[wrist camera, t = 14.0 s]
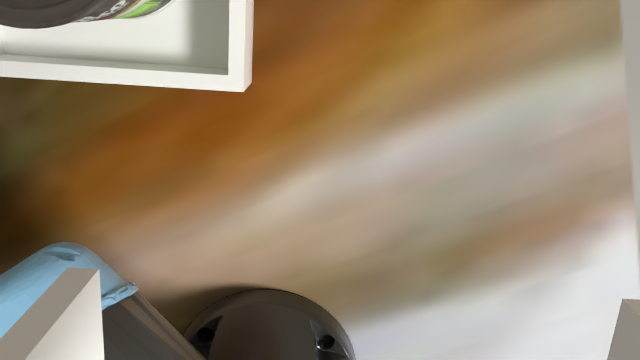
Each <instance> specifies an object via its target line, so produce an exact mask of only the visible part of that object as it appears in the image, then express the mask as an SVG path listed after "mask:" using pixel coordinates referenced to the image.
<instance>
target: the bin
mask: <svg viewBox="0 0 640 360" xmlns="http://www.w3.org/2000/svg"><path fill="white" fill-rule="evenodd" d="M253 8H254V0H175V1H174V2H173V3H172V4H171V5H169V6H168V7H167V8H165V9H164V10H162V11H160V12H158V13H156V14H154V15H151V16H148V17H144V18H139V19H110V20H99V21H90V22H75V23H68V24H65V25H61V26H57V27H51V28H42V29H21V28H13V27H8V26H3V25H0V76H2V77H17V78H33V79H49V80H64V81H80V82H95V83H111V84H126V85H142V86H157V87H173V88H188V89H204V90H219V91H235V92H244V91H245V90H246V88H247V87H248V86H249V85H250V84H251V78H252V43H253Z"/></svg>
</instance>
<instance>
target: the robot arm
mask: <svg viewBox="0 0 640 360" xmlns="http://www.w3.org/2000/svg"><path fill="white" fill-rule="evenodd" d="M138 289H139V288H138V286H137V285H136V284H135V283H134V282H127V281H126V280H125V279H123V278H122V277H121V276H120V275H119V274H118V273H117V272H116V271H114V270H113V269H112V268H111V267H110V266H109V265H108V264H106V263H105V262H104V261H103V260H102V259H101V258H100V257H99V256H97V255H96V254H95V253H94V252H93V251H92V250H90V249H89V248H87V247H86V246H83V245H81V244H78V243H74V242H59V243H54V244H51V245H48V246H46V247H44V248H42V249H41V250H39V251H37V252H35V253H34V254H32V255H31V256H29V257H28V258H26V259H24V260H23V261H21V262H20V263H18V264H17V265H15V266H14V267H12V268H11V269H9V270H8V271H6V272H4V273H3V274H1V275H0V360H355V354H354V350H353V347H352V344H351V342H350V339H349V337H348V335H347V334H346V332H345V330H344V329H343V328H342V326H341V325H340V324H339V322H338V321H337V320H336V319H335V318H334V317H333V316H332V315H331V314H330V313H329V312H327V311H326V310H325V309H323V308H322V307H321V306H319V305H317V304H316V303H314V302H312V301H310V300H308V299H306V298H304V297H301V296H298V295H295V294H292V293H288V292H283V291H277V290H252V291H245V292H240V293H236V294H233V295H230V296H227V297H225V298H223V299H221V300H219V301H217V302H215V303H213V304H212V305H210V306H209V307H207V308H206V309H205V310H203V311H202V312H201V313H200V314H199V315H198V316H197V317H196V318H195V319H194V320H193V321H192V323H191V324H190V325H189V327H188V328H187V330H186V332H185V334H184V335H183V336H182V335H181V334H180V333H179V332H178V331H177V330H176V329H175V328H174V327H173V326H172V325H171V324H170V323H169V322H168V321H167V320H166V319H165V318H164V317H163V316H162V315H161V314H160V313H159V312H158V311H157V310H156V309H155V308H154V307H153V306H152V305H151V304H150V303H149V302H148V301H147V300H146V299H145V298H144V297H143V296H142V295H141V294H140V293H139V292H138V291H137V290H138ZM607 360H640V300H634V299H622V303H621V307H620V311H619V315H618V319H617V323H616V327H615V331H614V335H613V339H612V343H611V347H610V351H609V355H608V359H607Z"/></svg>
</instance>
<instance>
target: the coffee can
mask: <svg viewBox="0 0 640 360" xmlns="http://www.w3.org/2000/svg"><path fill="white" fill-rule="evenodd" d="M174 1H175V0H0V25H3V26H8V27H13V28H21V29H42V28H51V27H57V26H61V25H65V24H68V23H75V22H90V21H99V20H110V19H139V18H144V17H148V16H151V15H154V14H156V13H158V12H160V11H162V10H164V9H165V8H167V7H168V6H169V5H171V4H172V3H173V2H174Z"/></svg>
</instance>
